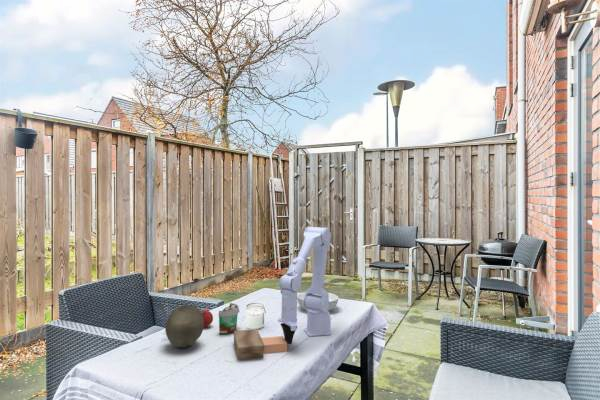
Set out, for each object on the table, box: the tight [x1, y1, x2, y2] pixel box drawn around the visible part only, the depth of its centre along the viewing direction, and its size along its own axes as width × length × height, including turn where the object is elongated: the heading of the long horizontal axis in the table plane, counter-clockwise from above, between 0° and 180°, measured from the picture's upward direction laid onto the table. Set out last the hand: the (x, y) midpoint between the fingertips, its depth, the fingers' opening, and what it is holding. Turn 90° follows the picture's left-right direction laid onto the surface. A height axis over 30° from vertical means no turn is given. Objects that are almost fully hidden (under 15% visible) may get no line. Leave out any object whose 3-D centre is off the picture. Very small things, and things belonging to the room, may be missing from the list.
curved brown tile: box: [233, 328, 265, 360], centre depth 131 cm, size 9×16×5 cm, turn 16°
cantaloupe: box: [164, 304, 205, 348], centre depth 134 cm, size 14×14×15 cm
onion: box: [201, 308, 214, 328], centre depth 154 cm, size 6×6×8 cm
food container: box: [218, 302, 240, 336], centre depth 150 cm, size 12×6×10 cm, turn 168°
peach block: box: [261, 335, 288, 355], centre depth 133 cm, size 10×7×3 cm
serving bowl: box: [297, 291, 339, 312], centre depth 183 cm, size 21×21×7 cm
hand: (288, 343), depth 135 cm, fingers closed, pressing on peach block
